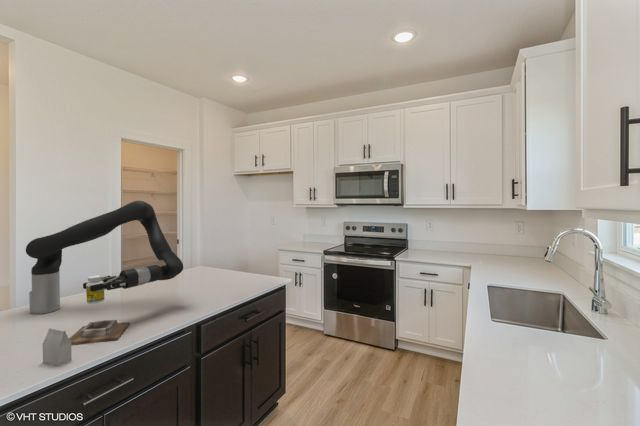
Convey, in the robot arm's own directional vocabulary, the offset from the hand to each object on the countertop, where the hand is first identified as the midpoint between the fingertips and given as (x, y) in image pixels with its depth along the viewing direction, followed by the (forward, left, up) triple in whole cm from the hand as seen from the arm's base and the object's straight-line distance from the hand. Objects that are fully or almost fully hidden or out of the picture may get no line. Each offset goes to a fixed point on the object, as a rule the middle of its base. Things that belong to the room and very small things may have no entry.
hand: (87, 287), depth 110 cm
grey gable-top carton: (-1, -18, -18) cm, 26 cm away
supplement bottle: (+2, +2, -6) cm, 7 cm away
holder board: (+4, 0, -18) cm, 18 cm away
